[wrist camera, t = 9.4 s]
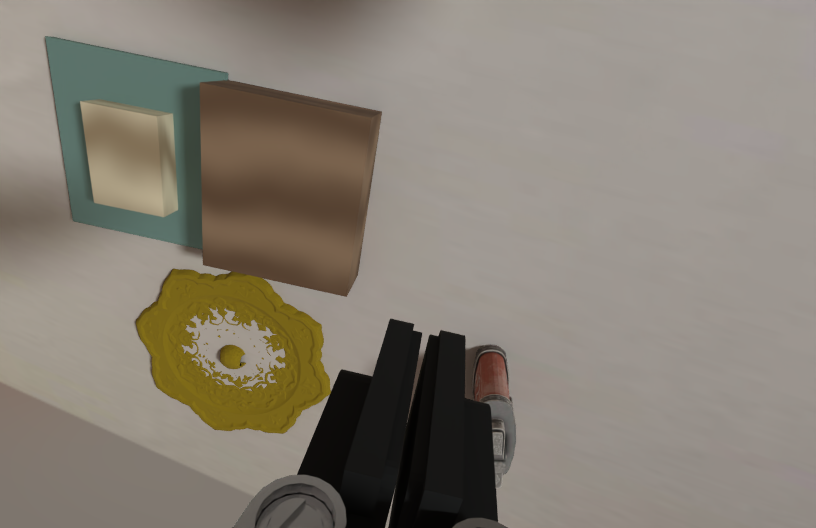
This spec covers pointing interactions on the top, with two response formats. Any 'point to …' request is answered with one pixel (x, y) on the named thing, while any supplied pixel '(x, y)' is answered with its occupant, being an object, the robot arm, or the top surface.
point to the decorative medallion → (234, 351)
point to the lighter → (496, 404)
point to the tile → (131, 156)
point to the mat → (143, 87)
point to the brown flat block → (285, 184)
